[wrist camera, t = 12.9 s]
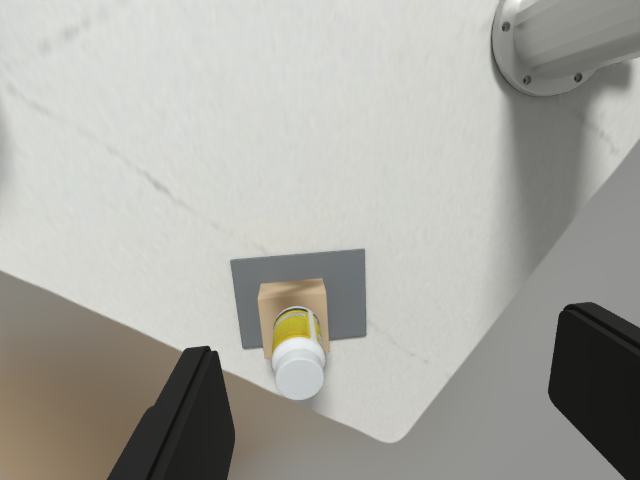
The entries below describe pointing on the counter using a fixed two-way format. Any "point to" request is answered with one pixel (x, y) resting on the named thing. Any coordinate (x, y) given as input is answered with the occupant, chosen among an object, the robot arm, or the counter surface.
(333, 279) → the mat
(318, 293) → the oak block
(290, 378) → the supplement bottle
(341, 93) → the counter surface
